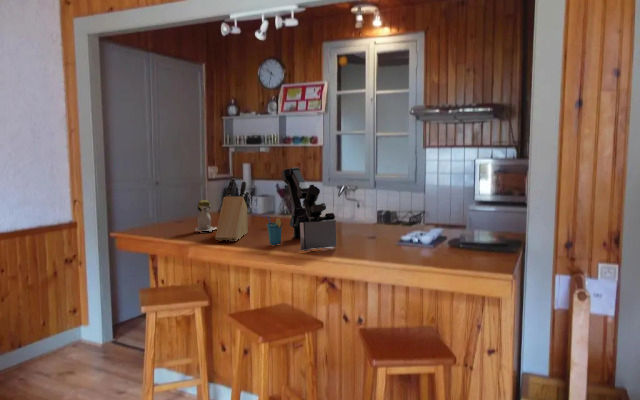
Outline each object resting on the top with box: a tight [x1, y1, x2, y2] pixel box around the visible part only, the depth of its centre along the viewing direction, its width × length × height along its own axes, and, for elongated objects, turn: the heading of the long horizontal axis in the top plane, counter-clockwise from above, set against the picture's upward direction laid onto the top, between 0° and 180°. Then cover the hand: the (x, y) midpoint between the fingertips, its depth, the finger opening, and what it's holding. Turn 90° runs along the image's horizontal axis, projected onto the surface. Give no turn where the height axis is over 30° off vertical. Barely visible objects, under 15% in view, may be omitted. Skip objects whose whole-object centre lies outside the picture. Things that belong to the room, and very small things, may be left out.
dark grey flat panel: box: [300, 219, 337, 250], centre depth 224 cm, size 2×17×12 cm, turn 106°
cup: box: [261, 214, 283, 245], centre depth 239 cm, size 14×8×15 cm, turn 52°
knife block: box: [214, 178, 251, 242], centre depth 262 cm, size 11×35×31 cm, turn 174°
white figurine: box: [194, 199, 217, 232], centre depth 280 cm, size 12×13×18 cm
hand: (320, 234), depth 226 cm, fingers closed, pressing on dark grey flat panel
